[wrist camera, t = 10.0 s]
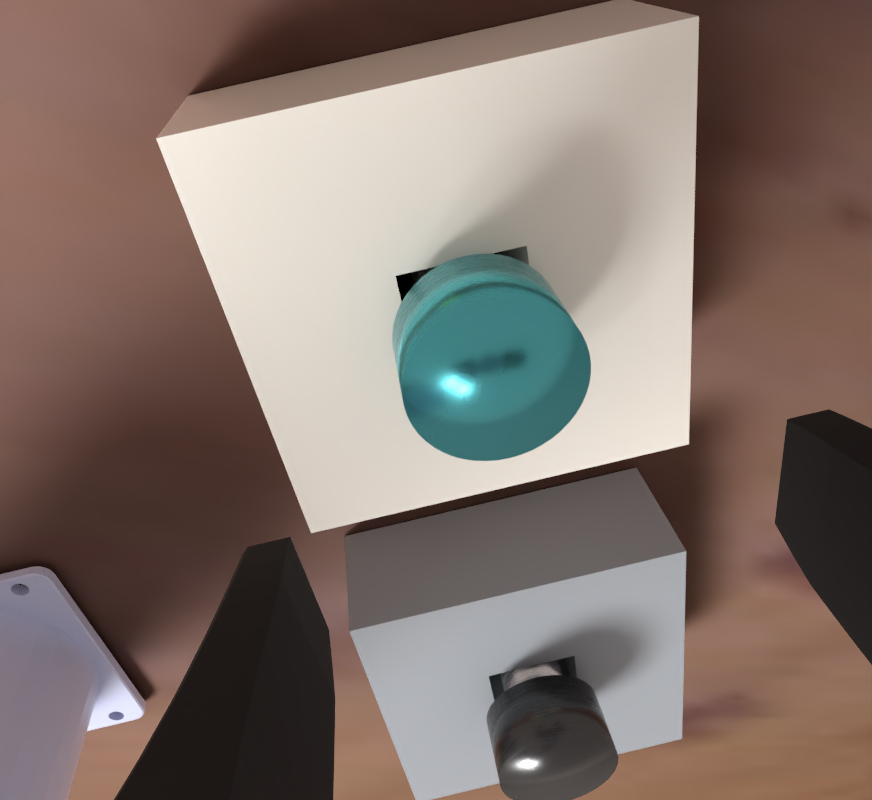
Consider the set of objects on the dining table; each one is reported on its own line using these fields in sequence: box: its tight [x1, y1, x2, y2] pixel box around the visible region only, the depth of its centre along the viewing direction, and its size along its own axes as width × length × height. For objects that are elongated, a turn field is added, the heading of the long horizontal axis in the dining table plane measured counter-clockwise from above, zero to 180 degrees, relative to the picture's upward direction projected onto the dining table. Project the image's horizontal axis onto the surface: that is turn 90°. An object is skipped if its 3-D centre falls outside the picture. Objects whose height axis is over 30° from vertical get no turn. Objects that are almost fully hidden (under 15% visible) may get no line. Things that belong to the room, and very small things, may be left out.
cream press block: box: [156, 0, 699, 533], centre depth 17 cm, size 10×10×4 cm
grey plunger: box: [486, 660, 618, 800], centre depth 24 cm, size 4×4×6 cm
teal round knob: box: [392, 254, 591, 461], centre depth 16 cm, size 4×4×6 cm
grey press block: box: [345, 468, 686, 800], centre depth 25 cm, size 10×10×4 cm
